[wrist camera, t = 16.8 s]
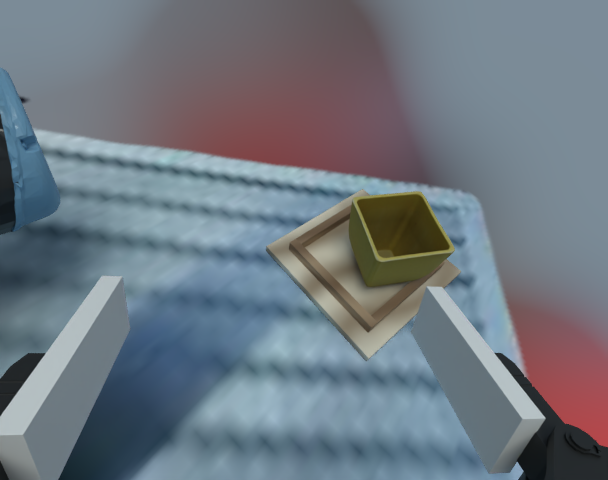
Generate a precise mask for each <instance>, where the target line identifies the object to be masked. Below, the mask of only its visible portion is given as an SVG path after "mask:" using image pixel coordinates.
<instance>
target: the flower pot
mask: <svg viewBox="0 0 608 480" xmlns="http://www.w3.org/2000/svg"><path fill="white" fill-rule="evenodd" d="M349 239H350V243H351V247H352V250H353V252H354V255H355V258H356V260H357V263H358V266H359V268H360V271H361V274H362V277H363V280H364V282H365V284H366V286H368V287H376V286H382V285H389V284H396V283H403V282H409V281H413V280H417V279H420V278H422V277H424V276H426V275H428V274H429V273H431V272H432V271H433V270H434V269H436V268H437V267H438V266H439V265H440V264H441V263H442V262H443V261H444V260H446V259H447V258H448V257H449V256H450V255H451V254H452V253H453V252H454V251H455V248H454V246H453V245H452V243H451V241H450V239H449V238H448V236H447V235H446V233H445V231H444V230H443V228H442V226H441V225H440V223H439V222H438V220H437V218H436V216H435V214H434V213H433V211H432V209H431V207H430V205H429V203H428V201H427V199H426V198H425V196H424V195H423V194H422V192H420V191H415V192H405V193H395V194H384V195H371V196H360V197H354V198H353V199H352V205H351V213H350V220H349Z"/></svg>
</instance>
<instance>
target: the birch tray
mask: <svg viewBox="0 0 608 480" xmlns="http://www.w3.org/2000/svg"><path fill="white" fill-rule="evenodd" d="M360 196H370V195H369V194H368V193H367V192H366V191H364V190H363V189H362V190H360V191H359V192H357V193H355V194H354V195H352V196H350V197H348V198H347V199H345V200H343V201H342V202H340V203H338V204H337V205H335V206H333V207H332V208H330V209H328V210H327V211H325V212H323V213H322V214H320V215H318V216H317V217H315V218H313V219H312V220H310V221H308V222H307V223H305V224H303V225H302V226H300V227H298V228H297V229H295V230H293V231H292V232H290V233H288V234H287V235H285V236H283V237H282V238H280V239H278V240H277V241H275V242H273V243H272V244H270V245H268V246H267V249H266V251H267V252H268V253H269V254H270V255H271V257H272V258H273V259H274V260H275V261H276V262H277V263H278V264H279V265H280V266H281V268H282V269H283V270H284V271H285V272H286V273H287V274H288V275H289V276H290V278H291V279H292V280H293V281H294V282H295V283H296V284H297V285H298V286H299V287H300V289H301V290H302V291H303V292H304V293H305V294H306V295H307V296H308V297H309V298H310V300H311V301H312V302H313V303H314V304H315V305H316V306H317V307H318V308H319V310H320V311H321V312H322V313H323V314H324V315H325V316H326V317H327V318H328V319H329V321H330V322H331V323H332V324H333V325H334V326H335V327H336V328H337V329H338V330H339V332H340V333H341V334H342V335H343V336H344V337H345V338H346V339H347V340H348V342H349V343H350V344H351V345H352V346H353V347H354V348H355V349H356V350H357V351H358V353H359V354H360V355H361V356H362V357H363V358H364V359H365V360H366V361H367V360H368V359H370V358H371V357H372V356H373V355H374V354H375V353H376V352H377V351H378V350H379V349H380V348H381V347H382V346H383V345H384V344H385V343H387V342H388V341H389V340H390V339H391V338H392V337H393V336H394V335H395V334H396V333H397V332H398V331H399V330H400V329H401V328H402V327H404V326H405V325H406V324H407V323H408V322H409V321H410V320H411V319H412V318H413V317H414V316H415V315H416V314H417V313H418V310H419V307H420V304H421V301H422V298H423V295H424V292H425V289H426V287H427V286H429V287H442V288H443V289H444V288H445V287H446V286H447V285H448V284H449V283H450V282H451V281H452V280H453V279H454V278H456V277H457V276H458V275H459V274H460V272H461V271H460V270H459V269H458V268H456V267H455V266H454V265H453V264H452V263H451V262H449V261H448V260H447V259H446V260H444V261H443V262H442V263H441V264H440V265H439V266H438V267H437V268H436V269H434V270H433V271H432V272H431V273H429V274H428V275H426V276H424V277H422V278H420V279H417V280H413V281H409V282H403V283H396V284H389V285H382V286H376V287H368V286H366V284H365V282H364V280H363V277H362V274H361V271H360V268H359V266H358V263H357V260H356V258H355V255H354V252H353V250H352V247H351V243H350V239H349V220H350V213H351V205H352V199H353V198H354V197H360Z"/></svg>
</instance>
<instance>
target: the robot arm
mask: <svg viewBox="0 0 608 480" xmlns="http://www.w3.org/2000/svg"><path fill="white" fill-rule="evenodd" d="M59 204H60V194H59V191H58V188H57V186H56V183H55V181H54V178H53V176H52V174H51V171H50V169H49V166H48V164H47V162H46V159H45V157H44V155H43V152H42V150H41V148H40V146H39V143H38V141H37V138H36V136H35V134H34V131H33V129H32V126H31V124H30V121H29V119H28V117H27V114H26V112H25V109H24V107H23V105H22V102H21V100H20V98H19V96H18V93H17V91H16V89H15V86H14V84H13V82H12V80H11V78H10V76H9V74H8V73H7V71H5V70H4V69H2V68H0V235H1V234H5V233H8V232H14V231H17V230H19V229H20V228H21V227H22V226H24V225H26V224H29V223H31V222H34V221H37V220H39V219H42V218H44V217H47V216H49V215H51V214H52V213H54V212H55V211H56V210H57V208H58V207H59ZM129 330H130V324H129V317H128V310H127V304H126V297H125V290H124V283H123V277H122V276H102V277H101V278H100V279H99V281H98V282H97V283H96V285H95V286H94V288H93V289H92V290H91V292H90V293H89V294H88V296H87V297H86V299H85V300H84V301H83V303H82V304H81V306H80V307H79V308H78V310H77V311H76V312H75V314H74V315H73V317H72V318H71V319H70V321H69V322H68V323H67V325H66V326H65V328H64V329H63V330H62V332H61V333H60V335H59V336H58V337H57V339H56V340H55V341H54V343H53V344H52V346H51V347H50V348H49V350H48V351H47V352H46V353H28V354H27V355H25V356H24V357H23V358H21V359H20V360H18V361H17V362H16V363H14V364H13V365H12V366H10V368H9V369H8V370H7V371H6V373H5V374H4V375H3V376H2V378H1V379H0V480H58V479H59V477H60V475H61V472H62V470H63V468H64V466H65V464H66V462H67V460H68V458H69V456H70V454H71V452H72V449H73V447H74V445H75V443H76V441H77V439H78V437H79V435H80V433H81V431H82V429H83V426H84V424H85V422H86V420H87V418H88V416H89V414H90V412H91V410H92V408H93V406H94V404H95V401H96V399H97V397H98V395H99V393H100V391H101V389H102V387H103V385H104V383H105V381H106V378H107V376H108V374H109V372H110V370H111V368H112V366H113V364H114V362H115V360H116V358H117V356H118V353H119V351H120V349H121V347H122V345H123V343H124V341H125V339H126V337H127V335H128V333H129ZM411 333H412V334H413V336H414V338H415V340H416V342H417V344H418V345H419V347H420V349H421V351H422V353H423V355H424V356H425V358H426V360H427V362H428V364H429V365H430V367H431V369H432V371H433V373H434V375H435V376H436V378H437V380H438V382H439V384H440V386H441V387H442V389H443V391H444V393H445V395H446V397H447V398H448V400H449V402H450V404H451V406H452V407H453V409H454V411H455V413H456V415H457V417H458V418H459V420H460V422H461V424H462V426H463V428H464V429H465V431H466V433H467V435H468V437H469V438H470V440H471V442H472V444H473V446H474V448H475V449H476V451H477V453H478V455H479V457H480V459H481V460H482V462H483V464H484V466H485V468H486V470H487V471H488V473H489V474H492V473H510V471H511V470H512V468H513V467H514V465H515V464H516V462H518V463H519V465H520V466H521V468H522V469H523V471H524V472H523V474H522V475H521V476H520V478H519V479H518V480H608V447H604V446H601V445H599V444H598V443H597V442H596V441H595V440H594V439H593V438H592V437H591V436H590V435H588V434H587V433H586V432H584V431H582V430H581V429H579V428H577V427H574V426H572V425H569V424H565V423H564V422H563V421H562V420H561V419H560V418H559V417H558V415H557V414H556V413H555V412H554V411H553V409H552V408H551V407H550V406H549V405H548V403H547V402H546V401H545V400H544V399H543V397H542V396H541V395H540V394H539V392H538V391H537V390H536V389H535V388H534V387H532V384H531V383H530V382H529V380H528V379H527V378H526V377H524V374H523V373H522V372H521V371H520V369H519V368H518V367H517V366H516V365H515V363H513V362H512V361H511V360H510V359H508V358H507V357H506V356H504V355H503V354H502V353H494V352H493V351H492V350H491V348H490V347H489V346H488V345H487V343H486V342H485V341H484V340H483V338H482V337H481V336H480V334H479V333H478V332H477V331H476V329H475V328H474V327H473V326H472V324H471V323H470V322H469V321H468V319H467V318H466V317H465V315H464V314H463V313H462V312H461V310H460V309H459V308H458V307H457V305H456V304H455V303H454V302H453V300H452V299H451V298H450V296H449V295H448V294H447V293H446V291H445V290H444V289H443V288H442V287H429V286H427V287H426V289H425V292H424V295H423V298H422V301H421V304H420V307H419V310H418V313H417V316H416V319H415V322H414V325H413V328H412V331H411Z"/></svg>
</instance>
